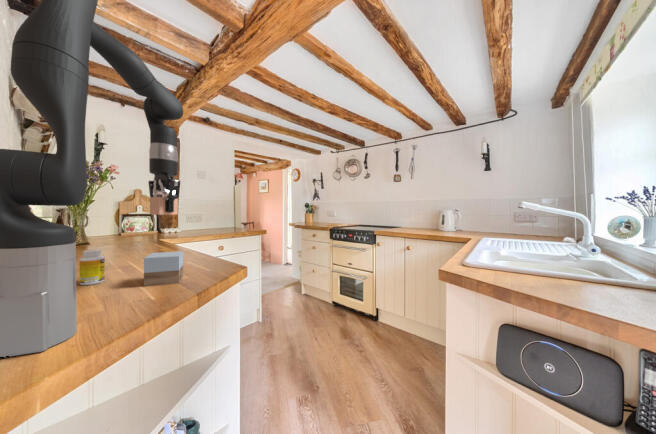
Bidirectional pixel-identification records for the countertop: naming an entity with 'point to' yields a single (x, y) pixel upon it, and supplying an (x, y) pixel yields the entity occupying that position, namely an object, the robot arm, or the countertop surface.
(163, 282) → the lower block
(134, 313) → the countertop surface
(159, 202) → the terracotta cube
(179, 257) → the upper block
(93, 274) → the supplement bottle
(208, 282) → the countertop surface
